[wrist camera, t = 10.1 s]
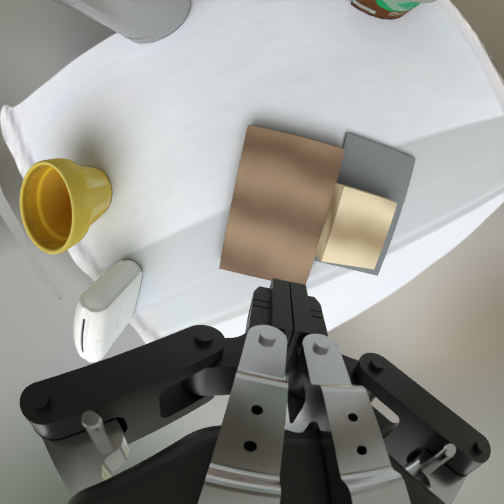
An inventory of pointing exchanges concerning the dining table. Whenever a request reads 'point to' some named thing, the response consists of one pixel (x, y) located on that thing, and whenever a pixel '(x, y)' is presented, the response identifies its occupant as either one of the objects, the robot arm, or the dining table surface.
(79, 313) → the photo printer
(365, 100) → the dining table surface
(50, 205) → the plant pot
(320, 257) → the cream flat block
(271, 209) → the brown wooden block
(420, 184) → the dining table surface
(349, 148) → the mat
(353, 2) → the food container
